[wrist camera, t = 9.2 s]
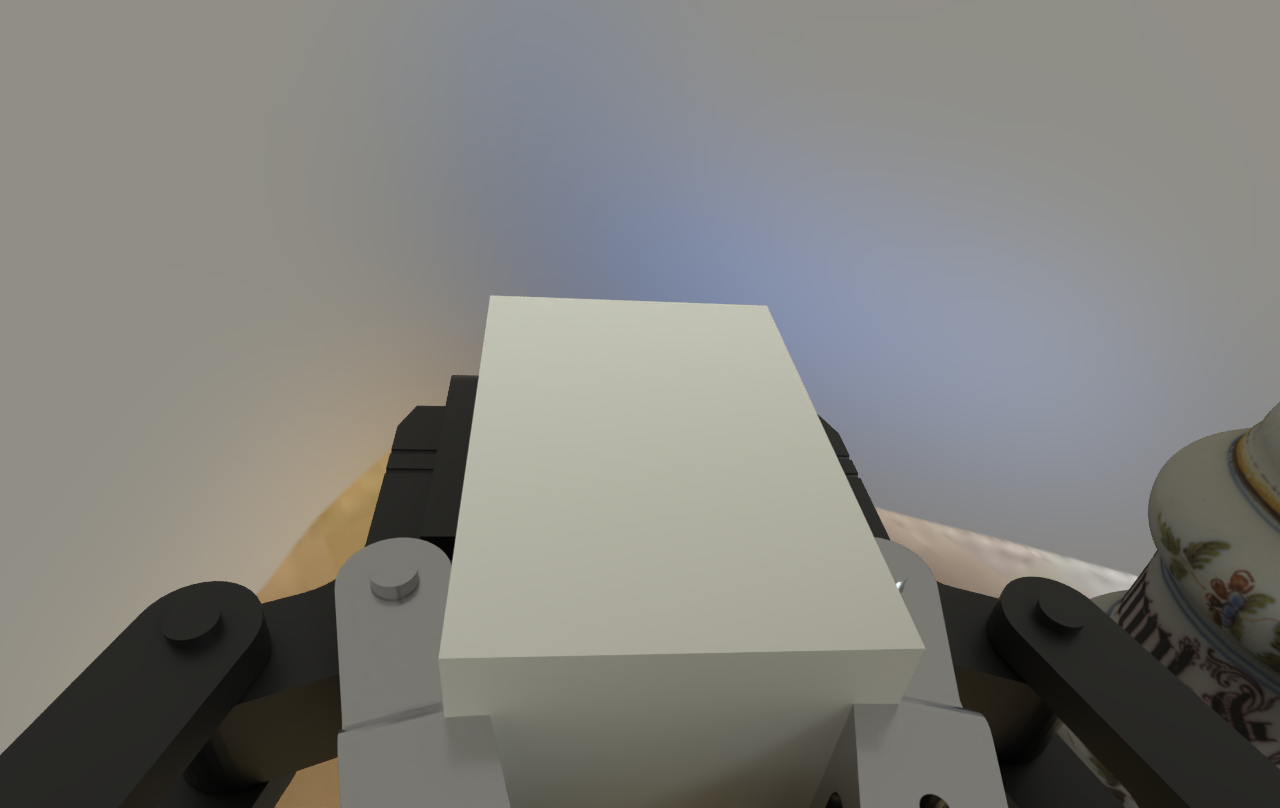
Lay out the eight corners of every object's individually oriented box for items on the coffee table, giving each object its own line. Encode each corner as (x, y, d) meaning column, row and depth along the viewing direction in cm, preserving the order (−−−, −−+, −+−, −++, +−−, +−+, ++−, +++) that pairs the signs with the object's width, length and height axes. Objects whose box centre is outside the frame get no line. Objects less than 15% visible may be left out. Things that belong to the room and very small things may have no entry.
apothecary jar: (1279, 743, 34) (1610, 421, 24) (1376, 1058, 25) (1986, 752, 15) (997, 642, 37) (1180, 319, 27) (989, 887, 28) (1264, 537, 18)
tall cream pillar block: (678, 729, 18) (767, 305, 11) (725, 1063, 13) (925, 648, 6) (501, 736, 17) (490, 295, 11) (481, 1085, 12) (439, 657, 6)
